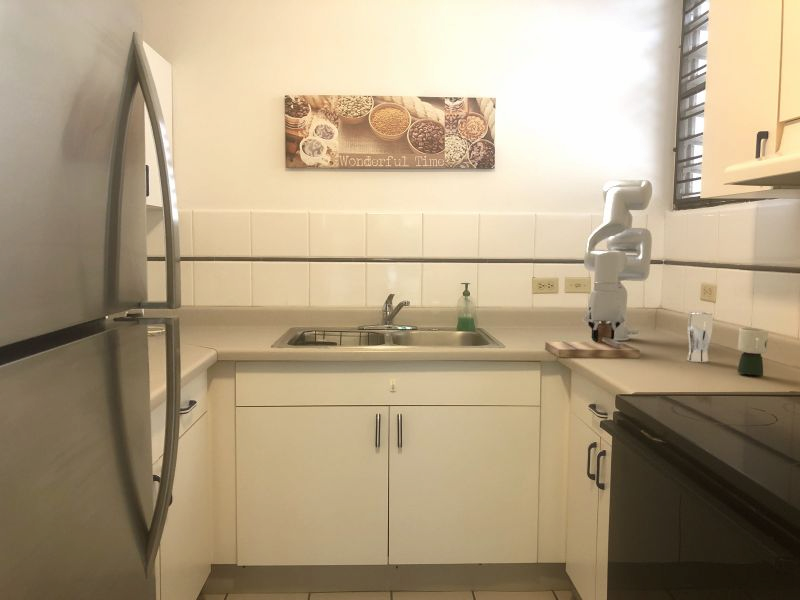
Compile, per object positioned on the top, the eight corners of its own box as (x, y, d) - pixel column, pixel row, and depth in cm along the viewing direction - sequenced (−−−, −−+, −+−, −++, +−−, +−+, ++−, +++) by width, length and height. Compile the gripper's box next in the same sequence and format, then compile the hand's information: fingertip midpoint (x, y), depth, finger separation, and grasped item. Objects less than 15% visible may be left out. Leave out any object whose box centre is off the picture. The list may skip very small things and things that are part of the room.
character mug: (770, 380, 169) (774, 332, 168) (741, 378, 171) (745, 331, 170) (758, 372, 180) (762, 327, 178) (731, 370, 181) (734, 326, 180)
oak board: (620, 349, 211) (620, 342, 211) (638, 357, 198) (639, 349, 197) (545, 349, 210) (545, 341, 209) (558, 357, 196) (559, 348, 195)
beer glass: (708, 359, 197) (711, 312, 196) (711, 363, 191) (715, 315, 189) (684, 357, 199) (687, 311, 198) (686, 361, 193) (689, 313, 191)
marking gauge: (606, 347, 214) (608, 320, 214) (626, 355, 199) (627, 327, 198) (594, 347, 214) (595, 320, 213) (612, 355, 199) (614, 326, 198)
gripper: (624, 287, 215) (621, 339, 217) (577, 286, 214) (574, 339, 216) (634, 289, 208) (631, 343, 210) (585, 288, 206) (582, 342, 208)
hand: (602, 340), depth 213 cm, fingers closed on marking gauge, 4 cm apart
